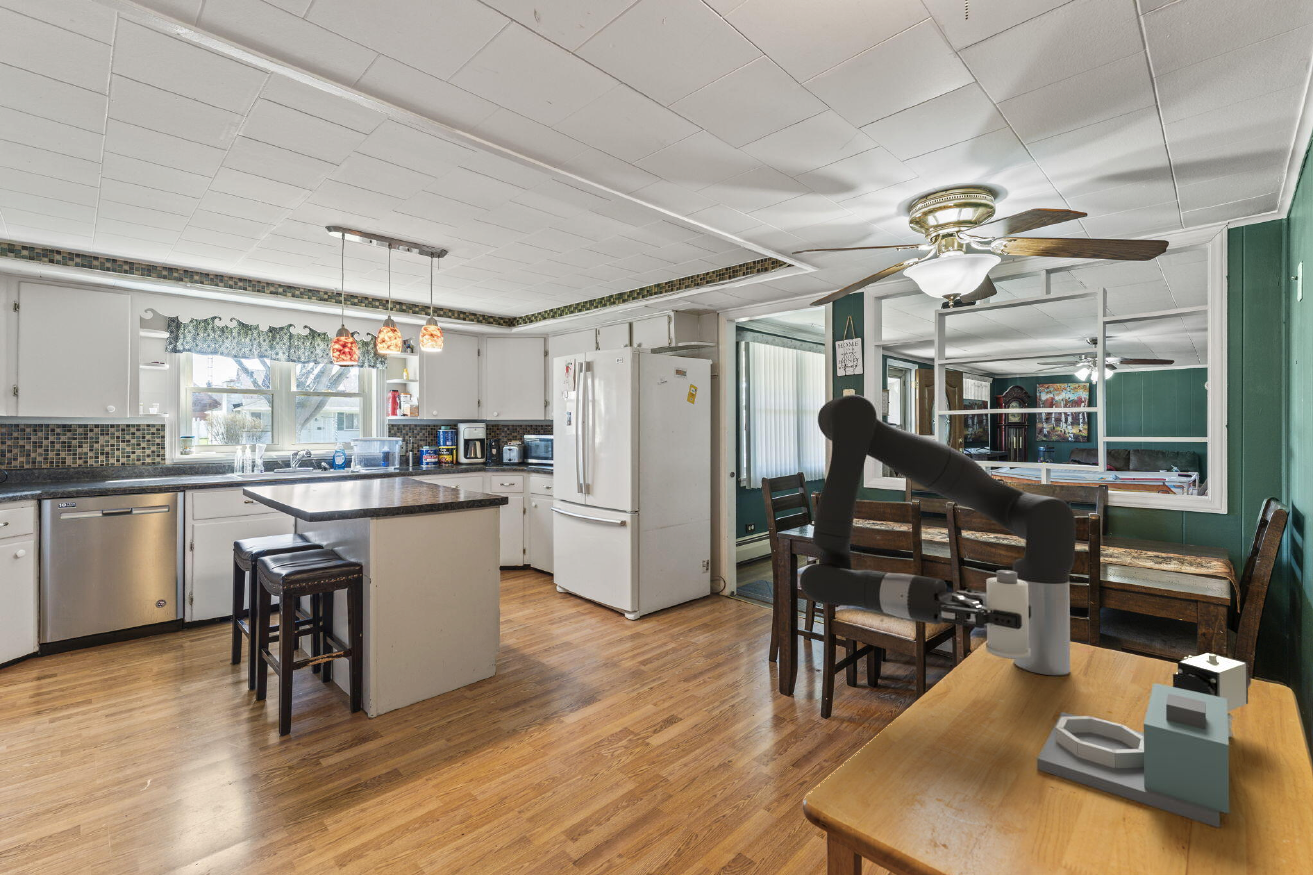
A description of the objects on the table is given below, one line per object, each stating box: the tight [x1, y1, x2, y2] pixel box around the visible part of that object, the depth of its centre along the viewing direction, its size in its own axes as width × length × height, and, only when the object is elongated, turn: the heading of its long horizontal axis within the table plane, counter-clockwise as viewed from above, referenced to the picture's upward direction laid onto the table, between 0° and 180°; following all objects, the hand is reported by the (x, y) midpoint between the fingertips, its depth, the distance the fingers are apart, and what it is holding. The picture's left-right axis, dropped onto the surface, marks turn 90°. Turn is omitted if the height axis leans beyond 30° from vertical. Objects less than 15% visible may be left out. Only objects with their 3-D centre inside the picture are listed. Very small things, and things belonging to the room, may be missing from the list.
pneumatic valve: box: [1172, 652, 1252, 739], centre depth 90 cm, size 6×12×12 cm, turn 115°
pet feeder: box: [1036, 682, 1230, 829], centre depth 81 cm, size 19×19×12 cm
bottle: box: [985, 569, 1031, 660], centre depth 93 cm, size 6×6×12 cm
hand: (1025, 616), depth 91 cm, fingers closed on bottle, 5 cm apart
